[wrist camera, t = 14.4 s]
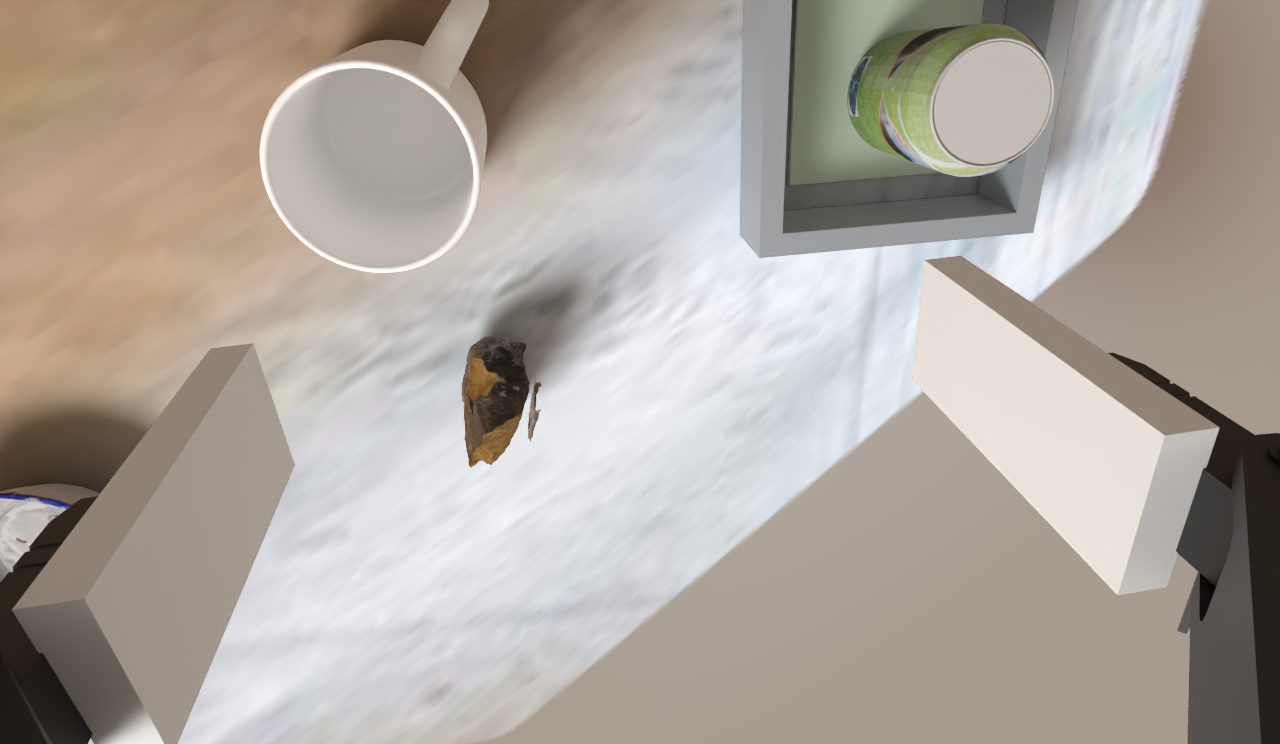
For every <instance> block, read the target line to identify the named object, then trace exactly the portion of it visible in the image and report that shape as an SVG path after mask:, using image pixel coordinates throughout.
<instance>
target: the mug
mask: <svg viewBox="0 0 1280 744" xmlns="http://www.w3.org/2000/svg"><path fill="white" fill-rule="evenodd" d="M488 6H489V0H451V2H450V4H449V5H448V7H447V8H446V10H445V12H444V13H443V15H442V17H441V18H440V20H439V22H438V23H437V25H436V27H435V28H434V30H433V32H432V33H431V35H430V37H429V38H428V40H427V42H426V43H425V45H424V46H422V45H418V44H415V43H412V42H407V41H402V40H381V41H374V42H370V43H366V44H363V45H360V46H358V47H355V48H353V49H351V50H349V51H347V52H345V53H343V54H341V55H339V56H337V57H335V58H333V59H331V60H329V61H327V62H325V63H323V64H321V65H319V66H317V67H315V68H313V69H311V70H309V71H308V72H306V73H304V74H303V75H301V76H299V77H298V78H297V79H296V80H294V81H293V82H292V83H291V84H290V85H288V86H287V87H286V88H285V90H284V91H283V92H282V93H281V94H280V95H279V96H278V98H277V99H276V101H275V102H274V104H273V106H272V107H271V109H270V111H269V113H268V116H267V118H266V120H265V123H264V127H263V131H262V135H261V143H260V166H261V171H262V177H263V181H264V184H265V187H266V191H267V193H268V195H269V198H270V200H271V202H272V204H273V206H274V208H275V209H276V211H277V213H278V214H279V216H280V218H281V219H282V220H283V222H284V223H285V224H286V225H287V227H288V228H289V229H290V230H291V231H292V232H293V233H294V234H295V235H296V236H297V237H298V238H299V239H300V240H301V241H302V242H303V243H304V244H306V245H307V246H308V247H309V248H311V249H312V250H314V251H315V252H317V253H318V254H320V255H321V256H323V257H325V258H327V259H329V260H331V261H333V262H335V263H338V264H340V265H343V266H346V267H349V268H353V269H357V270H361V271H368V272H376V273H391V272H399V271H405V270H409V269H413V268H417V267H419V266H422V265H424V264H427V263H429V262H431V261H433V260H435V259H436V258H438V257H440V256H441V255H443V254H444V253H445V252H446V251H448V250H449V249H450V248H451V247H452V246H453V245H454V244H455V243H456V242H457V241H458V240H459V239H460V238H461V236H462V235H463V234H464V232H465V231H466V230H467V228H468V226H469V224H470V223H471V221H472V219H473V216H474V214H475V211H476V208H477V205H478V201H479V196H480V191H481V184H482V177H483V170H484V163H485V155H486V147H487V126H486V120H485V115H484V111H483V108H482V105H481V102H480V100H479V98H478V96H477V93H476V92H475V90H474V88H473V87H472V85H471V84H470V82H469V81H468V80H467V78H466V77H465V76H464V74H463V73H462V72H461V71H460V70H459V68H460V65H461V63H462V61H463V59H464V57H465V55H466V53H467V51H468V49H469V47H470V45H471V43H472V41H473V39H474V37H475V35H476V33H477V31H478V29H479V27H480V25H481V23H482V21H483V19H484V17H485V14H486V12H487V10H488Z"/></svg>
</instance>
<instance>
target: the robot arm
mask: <svg viewBox="0 0 1280 744" xmlns="http://www.w3.org/2000/svg"><path fill="white" fill-rule="evenodd" d="M912 380H913V381H914V382H915V383H916V384H917V385H918V386H919V387H920V388H921V389H922V390H923V391H924V393H925V394H926V395H927V396H928V397H929V398H930V399H931V400H932V401H933V402H934V403H935V404H936V405H937V406H938V407H939V408H940V409H941V410H942V411H943V412H944V413H945V415H947V417H948V418H949V419H950V420H951V421H952V422H953V423H954V424H955V425H956V426H957V427H958V428H959V429H960V430H961V431H962V432H963V433H964V434H965V435H966V437H967V438H968V439H969V440H970V441H971V442H972V443H973V444H974V445H975V446H976V447H977V448H978V449H979V450H980V451H981V452H982V453H983V454H984V455H985V456H986V458H987V459H988V460H989V461H990V462H991V463H992V464H993V465H994V466H995V467H996V468H997V469H998V470H999V471H1000V472H1001V473H1002V474H1003V475H1004V476H1005V477H1006V479H1008V481H1009V482H1010V483H1011V484H1012V485H1013V486H1014V487H1015V488H1016V489H1017V490H1018V491H1019V492H1020V493H1021V494H1022V495H1023V496H1024V497H1025V498H1026V499H1027V501H1028V502H1029V503H1030V504H1031V505H1032V506H1033V507H1034V508H1035V509H1036V510H1037V511H1038V512H1039V513H1040V514H1041V515H1042V516H1043V517H1044V518H1045V519H1046V520H1047V522H1048V523H1049V524H1050V525H1051V526H1052V527H1053V528H1054V529H1055V530H1056V531H1057V532H1058V533H1059V534H1060V535H1061V536H1062V537H1063V538H1064V539H1065V540H1066V541H1067V542H1068V544H1069V545H1070V546H1071V547H1072V548H1073V549H1074V550H1075V551H1076V552H1077V553H1078V554H1079V555H1080V556H1081V557H1082V558H1083V559H1084V560H1085V561H1086V562H1087V563H1088V565H1090V567H1092V569H1094V571H1095V572H1096V573H1097V574H1098V575H1099V576H1100V577H1101V578H1102V579H1103V580H1104V581H1105V582H1106V583H1107V584H1108V585H1109V586H1110V587H1111V588H1112V590H1113V591H1114V592H1115V593H1116V594H1117V595H1122V594H1127V593H1134V592H1140V591H1145V590H1151V589H1157V588H1163V587H1167V584H1168V581H1169V578H1170V575H1171V572H1172V569H1173V566H1174V563H1175V560H1176V557H1177V554H1179V555H1180V556H1182V557H1183V558H1184V559H1185V560H1186V561H1187V562H1188V563H1189V564H1191V565H1192V566H1193V567H1194V568H1195V569H1196V570H1197V571H1198V574H1197V577H1196V579H1195V582H1194V585H1193V588H1192V591H1191V594H1190V597H1189V600H1188V602H1187V605H1186V608H1185V611H1184V613H1183V616H1182V619H1181V622H1180V625H1179V627H1178V631H1180V632H1183V633H1187V631H1188V630H1189V628H1190V666H1189V708H1188V709H1189V711H1188V744H1280V434H1279V433H1274V434H1260V435H1254V434H1252V433H1251V432H1249V431H1248V430H1246V429H1245V428H1243V427H1241V426H1240V425H1238V424H1237V423H1235V422H1233V421H1232V420H1231V419H1229V418H1227V417H1226V416H1224V415H1223V414H1221V413H1220V412H1218V411H1217V410H1215V409H1213V408H1212V407H1210V406H1209V405H1207V404H1206V403H1204V402H1203V401H1201V400H1199V399H1198V398H1196V397H1190V395H1189V393H1188V392H1187V391H1185V390H1184V389H1182V388H1181V387H1179V386H1178V385H1176V384H1170V380H1168V379H1167V378H1165V377H1164V376H1162V375H1160V374H1159V373H1157V372H1156V371H1154V370H1153V369H1151V368H1149V367H1148V366H1146V365H1144V364H1142V363H1139V362H1136V361H1133V360H1131V359H1128V358H1125V357H1123V356H1120V355H1118V354H1115V353H1106V352H1105V351H1104V350H1102V349H1100V348H1099V347H1098V346H1096V345H1095V344H1093V343H1092V342H1090V341H1089V340H1087V339H1086V338H1084V337H1082V336H1081V335H1079V334H1078V333H1076V332H1075V331H1073V330H1072V329H1070V328H1069V327H1067V326H1066V325H1064V324H1063V323H1061V322H1060V321H1058V320H1057V319H1055V318H1054V317H1052V316H1051V315H1049V314H1048V313H1046V312H1045V311H1043V310H1042V309H1040V308H1038V307H1037V306H1036V305H1034V304H1033V303H1031V302H1030V301H1028V300H1027V299H1025V298H1024V297H1022V296H1021V295H1019V294H1018V293H1016V292H1015V291H1013V290H1012V289H1010V288H1009V287H1007V286H1005V285H1004V284H1002V283H1001V282H999V281H998V280H996V279H995V278H993V277H992V276H990V275H989V274H987V273H986V272H984V271H983V270H981V269H980V268H978V267H977V266H975V265H974V264H972V263H971V262H969V261H968V260H966V259H965V258H963V257H962V256H955V257H947V258H939V259H931V260H925V262H924V271H923V281H922V290H921V299H920V308H919V318H918V327H917V336H916V346H915V355H914V364H913V373H912ZM294 466H295V464H294V461H293V458H292V456H291V453H290V450H289V447H288V444H287V441H286V438H285V435H284V432H283V429H282V426H281V423H280V420H279V418H278V415H277V412H276V409H275V406H274V403H273V400H272V397H271V394H270V391H269V388H268V385H267V382H266V380H265V377H264V374H263V371H262V368H261V365H260V362H259V359H258V356H257V353H256V350H255V347H254V344H245V345H237V346H229V347H221V348H213V349H210V350H209V351H208V353H207V354H206V355H205V357H204V358H203V359H202V361H201V362H200V363H199V364H198V366H197V367H196V368H195V370H194V371H193V372H192V374H191V375H190V376H189V378H188V379H187V380H186V382H185V383H184V384H183V385H182V387H181V388H180V389H179V391H178V392H177V393H176V395H175V396H174V397H173V399H172V400H171V401H170V403H169V404H168V405H167V407H166V408H165V409H164V410H163V412H162V413H161V414H160V416H159V417H158V418H157V420H156V421H155V422H154V424H153V425H152V426H151V428H150V429H149V430H148V431H147V433H146V434H145V435H144V437H143V438H142V439H141V441H140V442H139V443H138V445H137V446H136V447H135V449H134V450H133V451H132V453H131V454H130V455H129V456H128V458H127V459H126V460H125V462H124V463H123V464H122V466H121V467H120V468H119V470H118V471H117V472H116V474H115V475H114V476H113V477H112V479H111V480H110V481H109V483H108V484H107V485H106V487H105V488H104V489H103V491H102V492H101V493H100V495H99V496H96V497H88V498H81V499H80V500H79V501H77V502H76V503H74V504H73V505H72V506H70V507H69V508H68V509H66V510H65V511H64V512H62V513H61V514H60V515H58V516H57V517H55V518H54V519H53V520H51V521H50V522H49V523H48V524H47V526H46V527H45V528H44V529H43V530H42V532H41V533H40V534H39V535H38V537H37V538H36V539H35V540H34V542H33V543H32V544H31V545H30V546H29V548H30V551H27V552H25V553H24V554H23V555H22V556H21V558H20V559H19V560H18V561H17V562H16V564H15V565H14V566H13V567H12V568H13V572H10V573H8V574H7V575H6V576H5V577H4V578H3V580H2V581H1V582H0V744H88V742H89V740H90V738H91V739H92V740H93V742H94V744H177V743H178V741H179V739H180V736H181V734H182V731H183V729H184V727H185V724H186V722H187V720H188V717H189V715H190V712H191V710H192V708H193V705H194V703H195V701H196V698H197V696H198V693H199V691H200V689H201V686H202V684H203V682H204V679H205V677H206V674H207V672H208V670H209V667H210V665H211V663H212V660H213V658H214V655H215V653H216V651H217V648H218V646H219V644H220V641H221V639H222V636H223V634H224V632H225V629H226V627H227V625H228V622H229V620H230V618H231V615H232V613H233V610H234V608H235V606H236V603H237V601H238V599H239V596H240V594H241V591H242V589H243V587H244V584H245V582H246V580H247V577H248V575H249V572H250V570H251V568H252V565H253V563H254V561H255V558H256V556H257V553H258V551H259V549H260V546H261V544H262V542H263V539H264V537H265V534H266V532H267V530H268V527H269V525H270V523H271V520H272V518H273V515H274V513H275V511H276V508H277V506H278V504H279V501H280V499H281V496H282V494H283V492H284V489H285V487H286V485H287V482H288V480H289V477H290V475H291V473H292V470H293V468H294Z"/></svg>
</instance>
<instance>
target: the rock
mask: <svg viewBox="0 0 1280 744" xmlns="http://www.w3.org/2000/svg"><path fill="white" fill-rule="evenodd" d="M525 349H526V344H524V343H522V342H518V341H513V340H510V339H508V338H506V337H504V336H491V337H485V338H482V339H481V340H480V341H479V342H477V343H476V344H474V345H473V346H472V347H471V348H470V350H469V353H468V357H467V365H466V369H465V374H464V378H463V382H462V396H463V399H462V401H463V402H464V419H465V441H466V448H467V453H468V457H469V465H470V467H472V466H474V465H476V464H477V462H478V461H481V460H483V461H485V462H486V463H487V464H490V465H492V463H493V462H495V461H496V460H497V459H498V457H499V456H500V455H502V453H504V451H505V449H506V448H507V446H508V445H509V444H510V441H511V439H512V437H513V435H514V433H515V432H516V430H517V428H518V424H519V421H520V419H521V416H522V412H523V408H524V404H525V402H526V399H527V396H528V392H529V383H530V382H529V380H528V378H527V375H526V373H525V365H524V363H523V353H524V351H525ZM535 382H536V380H535ZM539 386H541V384H540V382H539V383H535V384H534V390H533V393H532V397H531V407H530V412H529V424H528V439H530V441H531V438H532V437H533V430H534V428H535V424H536V422H537V420H538V416H539V412H540V410H541V409H540V410H538V411H536V410H535V408H536V394H537V392H538V388H539ZM535 392H536V393H535Z"/></svg>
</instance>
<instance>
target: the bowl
mask: <svg viewBox="0 0 1280 744" xmlns="http://www.w3.org/2000/svg"><path fill="white" fill-rule="evenodd" d="M99 495H100V493H98V492H96V491H94V490H91V489H88V488H85V487H81V486H75V485H70V484H60V483H53V484H42V485H34V486H26V487H19V488H14V489H10V490H5V491H0V582H1V581H2V580H3V578H4V577H5V576H6V575H7V574H8V573H10V572H13V568H12V567H13V566H14V565H15V564H16V562H17V561H18V560H19V559H20V558H21V556H22V555H23V554H24V553H25V552H27V551H30V548H29V546H30V545H31V544H32V543H33V542H34V540H35V539H36V538H37V537H38V535H39V534H40V533H41V532H42V530H43V529H44V528H45V527H46V526H47V524H48V523H49V522H50V521H51V520H53V519H54V518H55V517H57V516H58V515H60V514H61V513H62V512H64V511H65V510H66V509H68V508H69V507H70V506H72V505H73V504H74V503H76V502H77V501H79V500H80V499H81V498H88V497H96V496H99Z"/></svg>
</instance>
